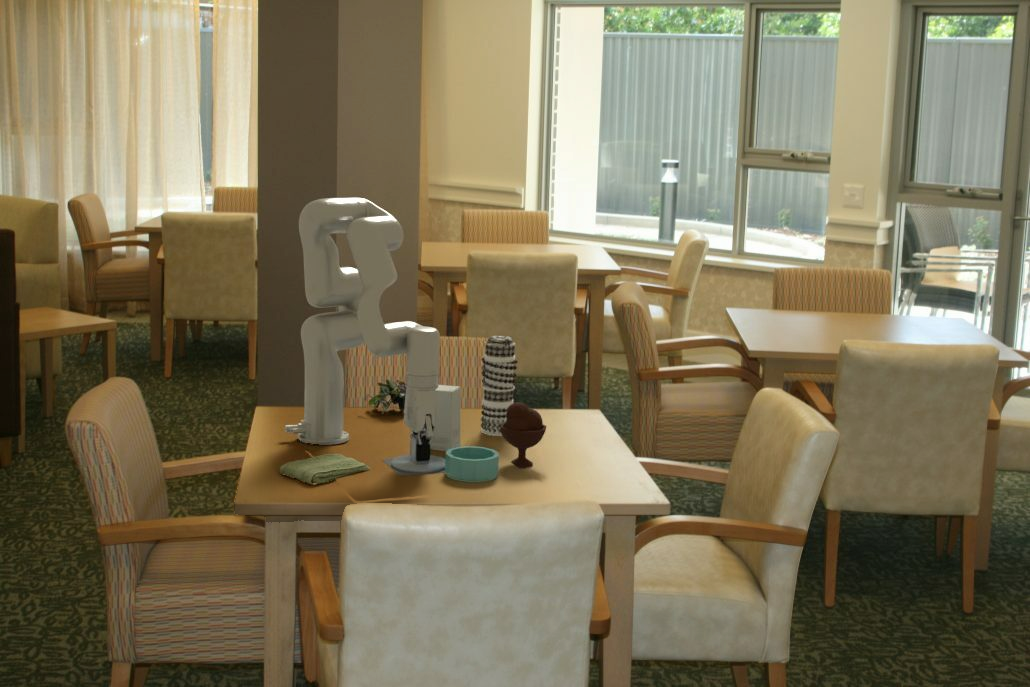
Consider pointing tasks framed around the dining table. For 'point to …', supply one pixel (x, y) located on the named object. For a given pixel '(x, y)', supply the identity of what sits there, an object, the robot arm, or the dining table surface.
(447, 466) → the bowl
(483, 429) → the decorative candle
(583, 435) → the dining table surface
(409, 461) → the lid
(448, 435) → the skincare box
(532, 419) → the ice cream bowl
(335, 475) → the washcloth
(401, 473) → the mat
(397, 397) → the green leafy plant
